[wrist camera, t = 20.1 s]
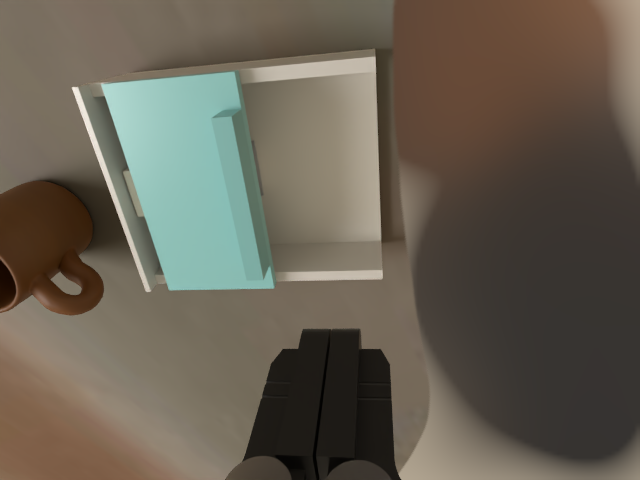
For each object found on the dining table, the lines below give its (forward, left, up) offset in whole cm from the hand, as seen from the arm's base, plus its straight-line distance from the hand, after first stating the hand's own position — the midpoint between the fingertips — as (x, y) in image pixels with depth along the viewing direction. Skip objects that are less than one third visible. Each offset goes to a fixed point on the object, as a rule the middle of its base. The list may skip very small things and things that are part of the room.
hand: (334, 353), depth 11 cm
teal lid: (-11, -2, -17) cm, 21 cm away
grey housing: (-8, -2, -23) cm, 24 cm away
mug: (-26, -7, -23) cm, 36 cm away
